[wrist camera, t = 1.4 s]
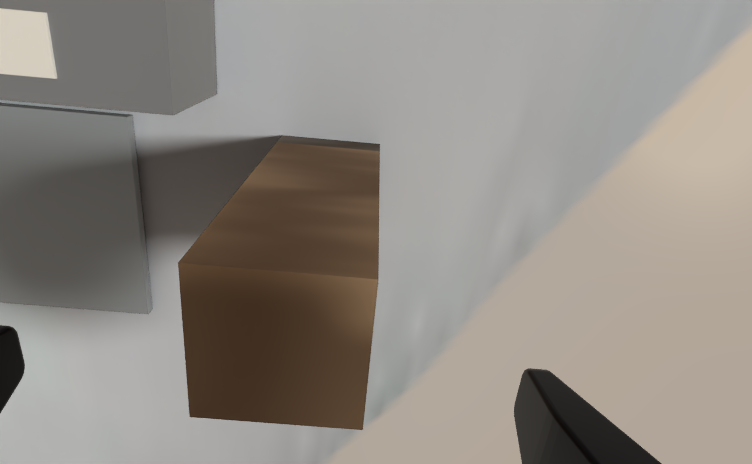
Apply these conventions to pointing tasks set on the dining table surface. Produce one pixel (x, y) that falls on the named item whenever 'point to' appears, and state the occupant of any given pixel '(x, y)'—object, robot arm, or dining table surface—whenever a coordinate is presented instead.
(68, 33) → the box
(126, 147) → the slate mat
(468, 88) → the dining table surface
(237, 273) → the long wooden beam
